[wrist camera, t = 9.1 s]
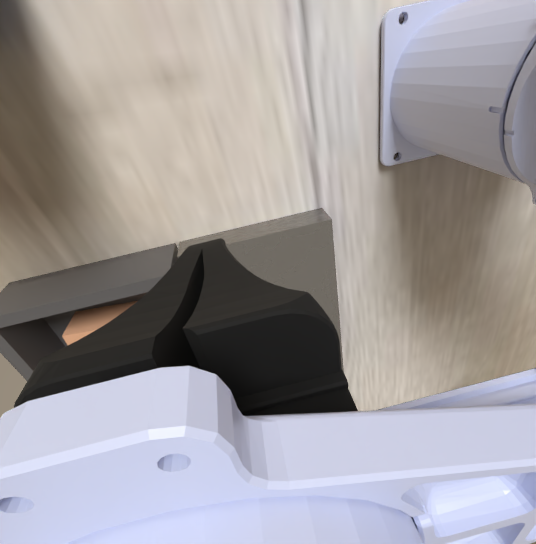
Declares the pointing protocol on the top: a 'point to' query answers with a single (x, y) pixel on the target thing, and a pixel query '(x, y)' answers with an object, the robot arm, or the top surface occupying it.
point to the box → (71, 301)
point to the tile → (92, 320)
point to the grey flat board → (288, 255)
